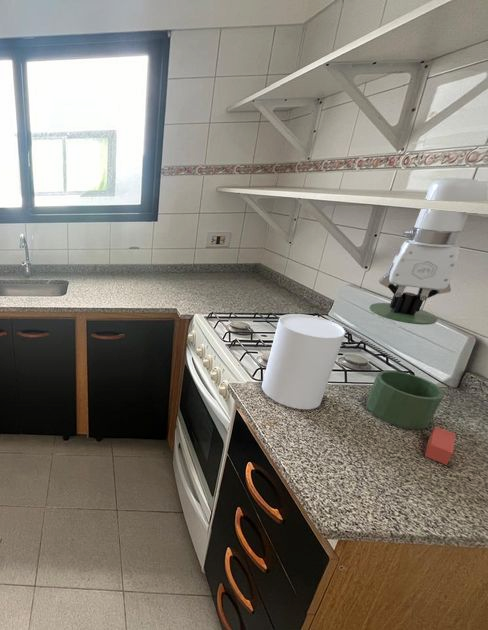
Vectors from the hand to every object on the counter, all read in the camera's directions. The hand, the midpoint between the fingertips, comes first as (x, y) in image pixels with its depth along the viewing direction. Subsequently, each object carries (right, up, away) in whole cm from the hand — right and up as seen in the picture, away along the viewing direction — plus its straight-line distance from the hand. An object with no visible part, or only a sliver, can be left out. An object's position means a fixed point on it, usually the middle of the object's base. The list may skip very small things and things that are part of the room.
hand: (402, 311), depth 85 cm
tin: (-3, -25, -1) cm, 25 cm away
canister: (-23, -22, +7) cm, 33 cm away
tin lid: (0, -1, 0) cm, 1 cm away
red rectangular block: (-4, -30, -12) cm, 32 cm away
